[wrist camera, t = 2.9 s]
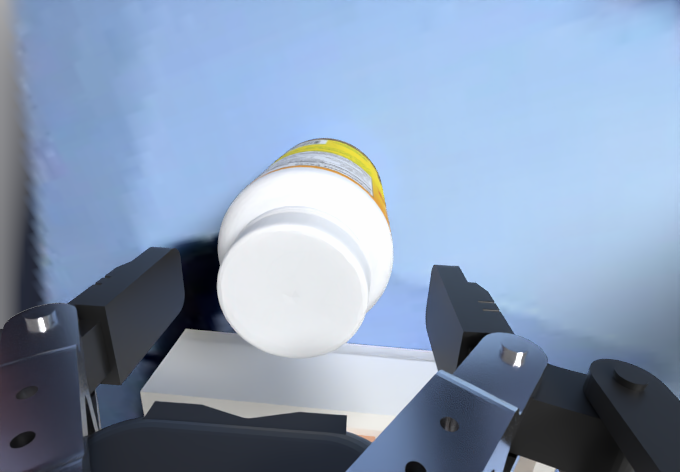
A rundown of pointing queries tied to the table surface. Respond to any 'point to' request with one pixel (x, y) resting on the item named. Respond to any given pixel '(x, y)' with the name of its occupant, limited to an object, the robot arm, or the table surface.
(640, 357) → the table surface
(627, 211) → the table surface
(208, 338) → the walled box
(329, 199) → the supplement bottle
